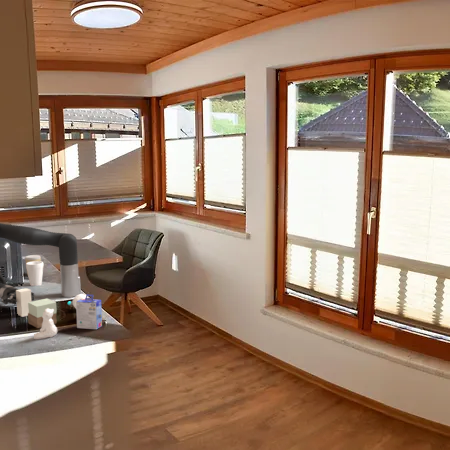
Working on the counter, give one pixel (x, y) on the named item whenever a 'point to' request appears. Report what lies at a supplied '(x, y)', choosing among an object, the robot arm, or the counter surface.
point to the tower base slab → (39, 320)
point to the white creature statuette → (47, 325)
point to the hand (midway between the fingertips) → (24, 300)
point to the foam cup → (35, 272)
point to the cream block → (23, 301)
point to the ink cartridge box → (89, 313)
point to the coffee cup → (32, 258)
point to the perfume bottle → (77, 299)
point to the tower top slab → (41, 307)
